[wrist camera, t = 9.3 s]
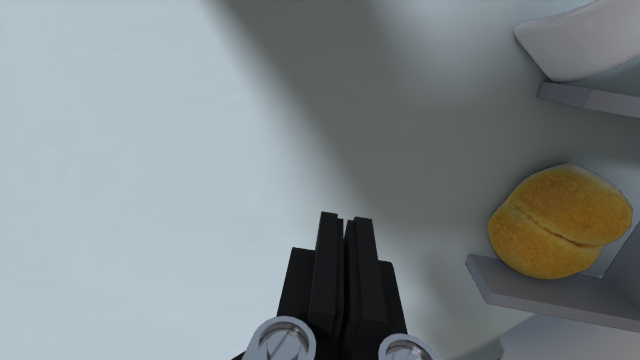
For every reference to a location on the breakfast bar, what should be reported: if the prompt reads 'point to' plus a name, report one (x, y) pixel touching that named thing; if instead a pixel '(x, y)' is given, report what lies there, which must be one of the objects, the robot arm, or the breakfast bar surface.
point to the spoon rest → (583, 39)
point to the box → (574, 290)
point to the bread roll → (558, 222)
